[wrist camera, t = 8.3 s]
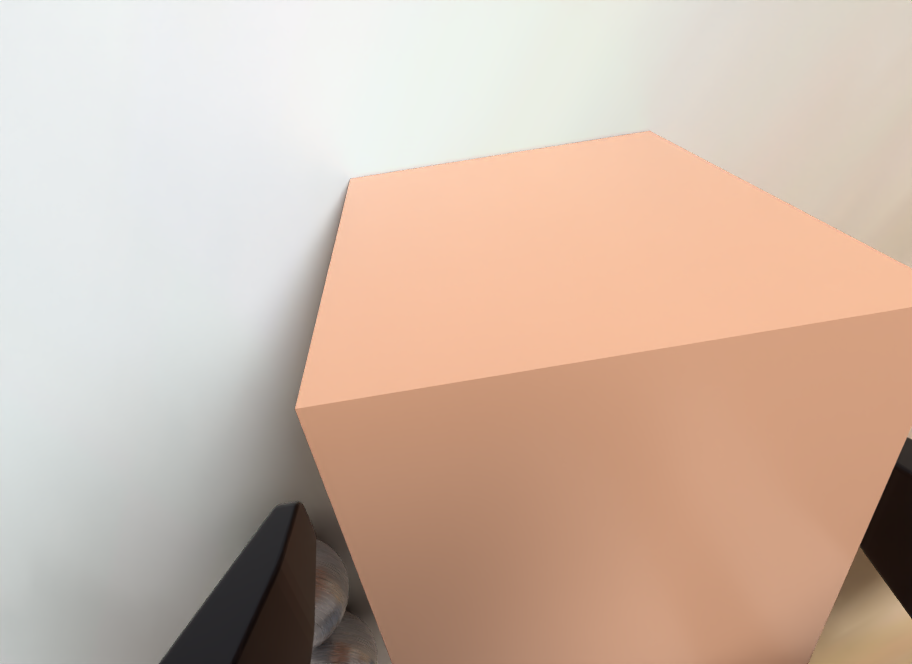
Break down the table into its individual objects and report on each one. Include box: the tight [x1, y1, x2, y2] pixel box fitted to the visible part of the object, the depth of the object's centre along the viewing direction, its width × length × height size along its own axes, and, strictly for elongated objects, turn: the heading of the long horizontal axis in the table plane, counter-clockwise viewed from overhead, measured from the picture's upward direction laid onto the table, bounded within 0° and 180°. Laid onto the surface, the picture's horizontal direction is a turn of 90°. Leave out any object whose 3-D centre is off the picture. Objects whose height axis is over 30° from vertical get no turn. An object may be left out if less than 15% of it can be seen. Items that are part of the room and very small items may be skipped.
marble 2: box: [311, 611, 377, 664], centre depth 17 cm, size 3×3×3 cm
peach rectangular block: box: [295, 131, 912, 664], centre depth 10 cm, size 9×6×7 cm, turn 8°
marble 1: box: [312, 539, 349, 650], centre depth 15 cm, size 3×3×3 cm
